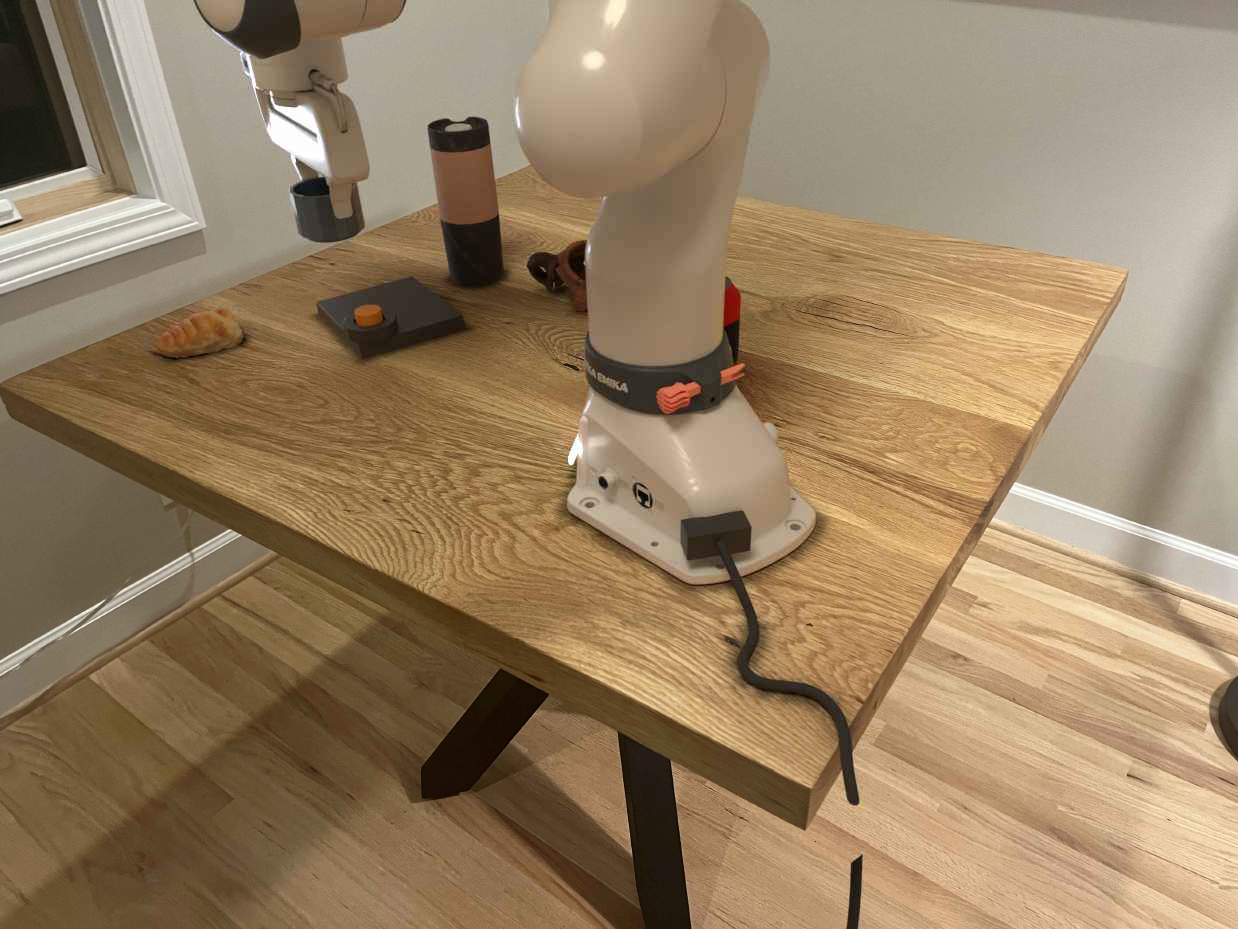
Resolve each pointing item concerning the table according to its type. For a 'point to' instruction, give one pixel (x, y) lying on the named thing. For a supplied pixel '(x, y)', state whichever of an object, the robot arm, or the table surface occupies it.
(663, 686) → the table surface
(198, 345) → the pastry
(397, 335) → the scale
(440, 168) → the travel mug
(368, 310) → the button
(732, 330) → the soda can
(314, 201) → the bowl
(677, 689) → the table surface
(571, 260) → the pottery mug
